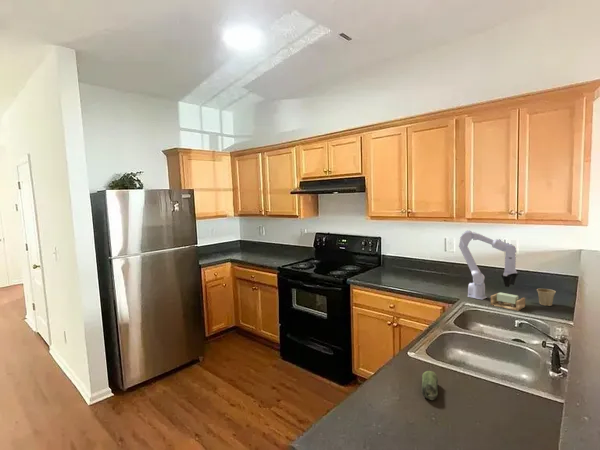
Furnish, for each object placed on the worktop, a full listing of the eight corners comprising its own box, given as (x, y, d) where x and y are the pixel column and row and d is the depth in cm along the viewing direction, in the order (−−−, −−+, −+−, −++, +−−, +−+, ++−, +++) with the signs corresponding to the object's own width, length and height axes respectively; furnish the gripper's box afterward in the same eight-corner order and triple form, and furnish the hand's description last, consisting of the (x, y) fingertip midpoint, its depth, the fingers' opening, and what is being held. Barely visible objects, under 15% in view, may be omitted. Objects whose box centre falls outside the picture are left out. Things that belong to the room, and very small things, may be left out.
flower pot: (536, 301, 212) (537, 287, 211) (555, 303, 206) (556, 289, 205) (535, 305, 204) (535, 290, 204) (554, 308, 198) (555, 293, 198)
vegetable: (422, 380, 124) (422, 367, 123) (437, 382, 122) (437, 369, 121) (420, 401, 111) (421, 387, 110) (438, 405, 109) (438, 390, 108)
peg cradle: (490, 304, 206) (490, 296, 206) (497, 301, 213) (498, 292, 213) (518, 310, 195) (518, 301, 194) (525, 306, 201) (525, 297, 201)
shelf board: (496, 300, 205) (496, 293, 205) (500, 298, 208) (500, 292, 208) (515, 304, 197) (515, 297, 197) (518, 302, 201) (518, 295, 200)
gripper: (512, 266, 203) (512, 288, 204) (521, 263, 212) (521, 284, 213) (499, 265, 209) (499, 286, 210) (509, 261, 218) (508, 282, 219)
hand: (509, 285), depth 212 cm, fingers open, 7 cm apart
